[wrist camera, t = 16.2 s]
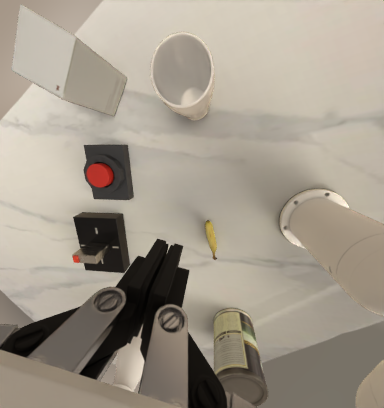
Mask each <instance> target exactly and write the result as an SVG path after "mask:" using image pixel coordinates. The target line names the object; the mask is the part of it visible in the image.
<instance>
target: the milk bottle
mask: <svg viewBox="0 0 384 408" xmlns="http://www.w3.org/2000/svg"><path fill="white" fill-rule="evenodd" d="M142 327H143V325H142ZM142 327H141V330H140V332H139V335H138V337H133V339H132V341H131V344H129V343H127V345H126V346H124V347H122V348H120V349H119V351H118V355H117V362H116V373H115V378H114V382H113V384H112V385H113V386H116V387H119V388H123V389H126V390H129V391H132V392H134V390H135V388H136V386H137V384H138V383H139V381H140V379H141V376H142V371H143V366H144V362H145V361H144V359H143V356H142V354H141V351H140V346H141V341H142V339H141V338H140V337H141V332H142Z"/></svg>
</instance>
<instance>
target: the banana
mask: <svg viewBox="0 0 384 408" xmlns="http://www.w3.org/2000/svg"><path fill="white" fill-rule="evenodd" d="M205 229H206V234H207V238H208V242H209V245H210V248H211V250H212V252H213V259H214V260H216V259H217V258H215V251H216V248H217V245H216V239H215V234H214V230H213V226H212V223H211V222H210V221H209V220H208V221H206V223H205Z"/></svg>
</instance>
